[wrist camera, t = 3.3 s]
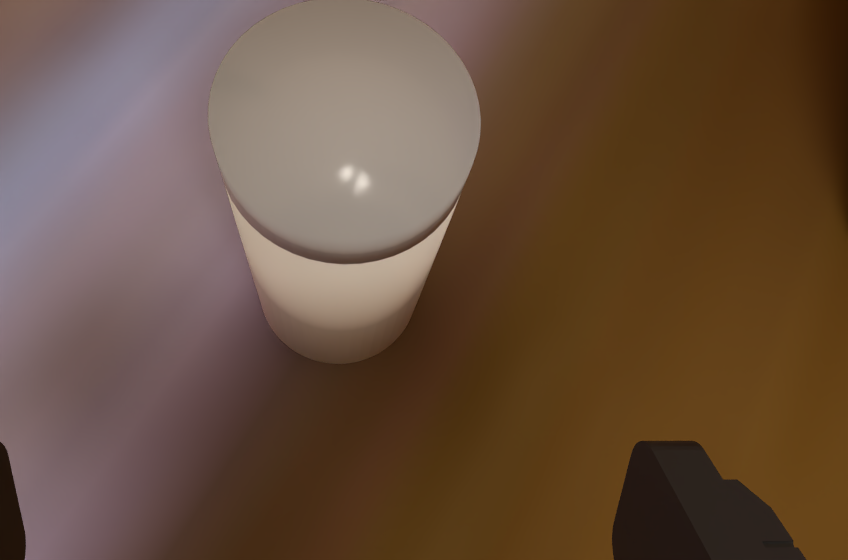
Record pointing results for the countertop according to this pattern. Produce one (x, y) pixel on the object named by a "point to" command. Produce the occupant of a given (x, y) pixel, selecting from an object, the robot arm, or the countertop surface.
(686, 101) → the countertop surface
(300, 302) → the salt shaker
